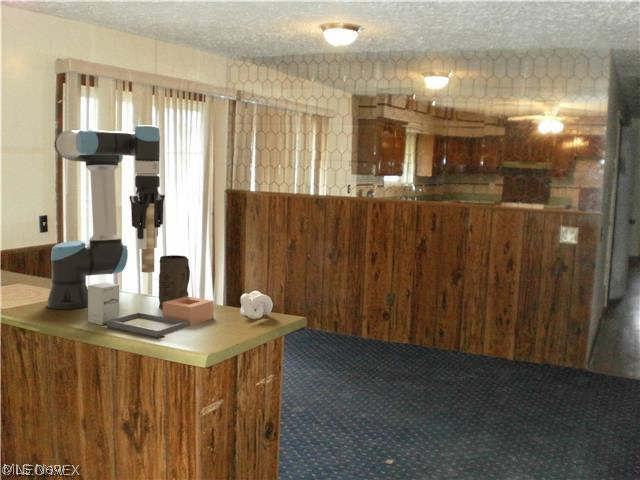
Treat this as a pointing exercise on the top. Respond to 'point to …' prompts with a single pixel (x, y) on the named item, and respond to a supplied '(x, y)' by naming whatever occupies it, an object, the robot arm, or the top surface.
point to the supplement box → (103, 302)
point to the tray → (144, 331)
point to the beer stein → (173, 278)
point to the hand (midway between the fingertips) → (147, 248)
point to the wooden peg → (148, 241)
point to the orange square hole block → (189, 309)
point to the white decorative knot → (255, 305)
